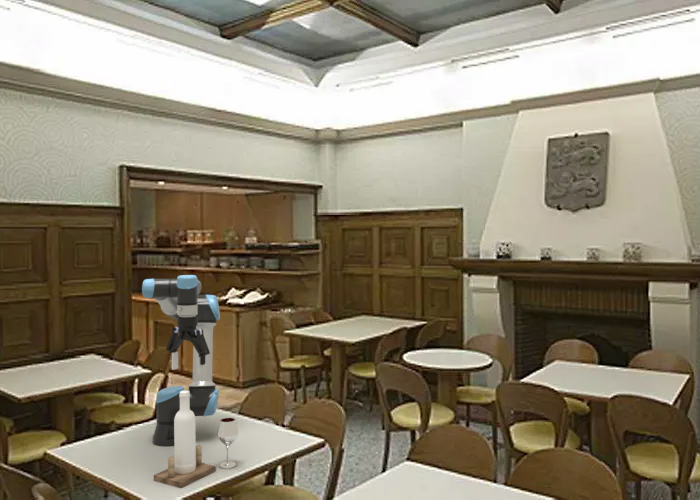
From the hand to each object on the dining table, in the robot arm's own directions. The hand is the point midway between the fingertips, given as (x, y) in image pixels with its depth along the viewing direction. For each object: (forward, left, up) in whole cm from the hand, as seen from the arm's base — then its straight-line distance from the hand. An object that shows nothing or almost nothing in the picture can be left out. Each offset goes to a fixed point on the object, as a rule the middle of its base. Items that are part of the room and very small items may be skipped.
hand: (187, 371), depth 227 cm
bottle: (+1, -3, -37) cm, 37 cm away
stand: (+1, -3, -39) cm, 39 cm away
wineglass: (+8, +13, -39) cm, 42 cm away
